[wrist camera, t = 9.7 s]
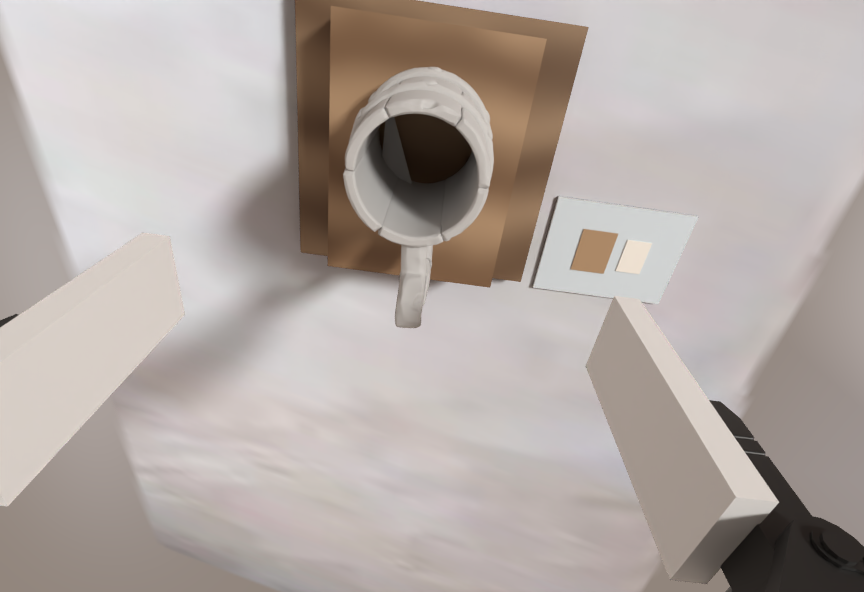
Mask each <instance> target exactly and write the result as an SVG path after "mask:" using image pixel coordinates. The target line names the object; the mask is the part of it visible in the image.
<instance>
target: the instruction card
mask: <svg viewBox="0 0 864 592" xmlns="http://www.w3.org/2000/svg"><path fill="white" fill-rule="evenodd" d="M697 219H698V216H695V215H688V214H681V213H674V212H667V211H660V210H653V209H646V208H639V207H632V206H625V205H618V204H610V203H603V202H596V201H589V200H582V199H575V198H568V197H561V196H558V198H557V202H556V205H555V209H554V212H553V216H552V219H551V223H550V226H549V230H548V233H547V237H546V241H545V244H544V248H543V251H542V255H541V258H540V262H539V265H538V269H537V272H536V276H535V279H534V283H533V288H540V289H548V290H555V291H563V292H570V293H578V294H585V295H593V296H600V297H608V298H614V296H620V297H628V298H635V299H640V301H641V302H645V303H653V304H659V302H660V299H661V297H662V295H663V293H664V291H665V289H666V286H667V284H668V282H669V280H670V278H671V276H672V273H673V271H674V269H675V267H676V265H677V263H678V260H679V258H680V256H681V254H682V252H683V250H684V248H685V245H686V243H687V241H688V239H689V237H690V235H691V232H692V230H693V228H694V226H695V224H696V222H697Z"/></svg>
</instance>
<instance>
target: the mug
mask: <svg viewBox="0 0 864 592" xmlns="http://www.w3.org/2000/svg"><path fill="white" fill-rule="evenodd" d="M404 114H425V115H430V116H434V117H437V118H439V119H441V120H444V121H445V122H447V123H449V124H451V125H452V126H455V127H456V129H457V130H458V131H459V132H460V133H461V134H462V135H463V137H464V138H465V139H466V140H467V142H468V143H469V145H470V147H471V149H472V152H471V155H470V157H469V159H468V161H467V162H466V164H465V165H464V166H463V167H462V168H461V169H460V170H459V171H458V172H457V173H456V174H454V175H453V176H451V177H449V178H447V179H446V181H445V180H443V181H439V182H436V183H418V182H414V181H412V180H411V178H410V175H409V171H408V167H407V163H406V159H405V156H404V152H403V148H402V144H401V141H400V137H399V133H398V129H397V126H396V122H395V118H394V117H395V116H399V115H404ZM383 122H385V131H384V142H383V151H382V148H381V145H380V138H379V130H378V129H379V127H380V124H382V123H383ZM492 139H493V134H492V130H491V126H490V115H489V113H488V111H487V110H486V109H485V106H484V104H483V102H482V100H481V99H480V97H479V96H478V94H477V93H476V92H475V90H474V89H473V88H472V87H471V86H470V85H469V84H468V83H467V82H465V81H464V80H463V79H461V78H460V77H458V76H457V75H455V74H453V73H450V72H448V71H445V70H442V69H440V68H438V67H420V68H413V69H409V70H406V71H403V72H400V73H398V74H396V75H394V76H392V77H391V78H389V79H388V80H387V81H386V82H384V83H383V84H382V85H381V86H380V87H379V88H378V89H377V91H375V92H374V93H373V94H372V95H371V96H370V98H369V100H368V104H367V105H366V106H365V107H364V108H361V109H360V111H359V113H358V114H357V116H356V118H355V122H354V125H353V129H352V132H351V135H350V139H349V144H348V146H347V149H346V153H345V167H346V169H345V171H344V173H343V178H344V185H345V189H346V193H347V196H348V199H349V201H350V203H351V205H352V207H353V209H354V210H355V212H356V213H357V215H358V216H359V218H360V219H361V220H362V221H363V223H364V224H365V225H366V226H367V227H369V228H370V229H371V230H372V231H374V232H375V231H377V230H378V229H379V230H378V234H379V235H380V236H381V237H383V238H385V239H387V240H389V241H391V242H394V243H397V244H400V245H401V272H400V276H399V289H398V296H397V303H396V310H395V324H396V326H397V327H402V328H417V327H419V326H420V325H421V313H422V307H423V305H424V303H425V300H426V296H427V291H428V288H429V282H430V273H431V267H432V251H433V245H437V244H439V243H441V242H443V241H449V240H450V239H451V238H452V237H454V236H457V235H458V234H460V233H461V232H463V231H464V230H465V229H466V228H467V227H468V226H470V225H471V224H472V223H473V222H474V220H475V219H476V218H477V216H478V215H479V213H480V212H481V210H482V208H483V206H484V204H485V201H486V199H487V196H488V191H489V189H488V188H489V186H490V180H491V176H492V172H493V164H494V153H493V142H492Z"/></svg>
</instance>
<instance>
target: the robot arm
mask: <svg viewBox="0 0 864 592" xmlns="http://www.w3.org/2000/svg"><path fill="white" fill-rule="evenodd" d="M184 315H185V313H184V308H183V302H182V297H181V292H180V287H179V282H178V277H177V272H176V266H175V261H174V256H173V251H172V246H171V241H170V236H164V235H157V234H149V233H141V234H140V235H138V236H137V237H135V238H134V239H132V240H131V241H129V242H128V243H126V244H125V245H123V246H122V247H120V248H119V249H117V250H116V251H114V252H113V253H111V254H110V255H108V256H107V257H105V258H104V259H102V260H101V261H99V262H98V263H96V264H95V265H93V266H92V267H90V268H89V269H87V270H86V271H84V272H83V273H81V274H80V275H78V276H77V277H75V278H74V279H72V280H71V281H69V282H68V283H66V284H65V285H63V286H62V287H60V288H59V289H57V290H56V291H55V292H53V293H51V294H50V295H48V296H47V297H45V298H44V299H42V300H41V301H40V302H38V303H36V304H35V305H33V306H32V307H30V308H29V309H28V310H26V311H25V312H23V313H21V314H20V315H17V314H15V315H13V316H11V317H8V318H5V319H3V320H0V506H9V504H10V503H11V502H12V501H13V500H14V499H15V498H16V497H17V496H18V495H19V494H20V493H21V491H22V490H23V489H24V488H25V487H26V486H27V485H28V484H29V483H30V482H31V481H32V479H33V478H34V477H35V476H36V475H37V474H38V473H39V472H40V471H41V470H42V469H43V468H44V467H45V466H46V464H47V463H48V462H49V461H50V460H51V459H52V458H53V457H54V456H55V455H56V454H57V453H58V452H59V450H60V449H61V448H62V447H63V446H64V445H65V444H66V443H67V442H68V441H69V440H70V438H71V437H72V436H73V435H74V434H75V433H76V432H77V431H78V430H79V429H80V428H81V426H83V425H84V423H85V422H86V421H87V420H88V419H89V418H90V417H91V416H92V415H93V414H94V413H95V412H96V410H97V409H98V408H99V407H100V406H101V405H102V404H103V403H104V402H105V401H106V400H107V399H108V398H109V396H110V395H111V394H112V393H113V392H114V391H115V390H116V389H117V388H118V387H119V386H120V385H121V383H122V382H123V381H124V380H125V379H126V378H127V377H128V376H129V375H130V374H131V373H132V372H133V370H134V369H135V368H136V367H137V366H138V365H139V364H140V363H141V362H142V361H143V360H144V359H145V358H146V356H147V355H148V354H149V353H150V352H151V351H152V350H153V349H154V348H155V347H156V346H157V345H158V343H159V342H160V341H161V340H162V339H163V338H164V337H165V336H166V335H167V334H168V333H169V332H170V331H171V329H172V328H173V327H174V326H175V325H176V324H177V323H178V322H179V321H180V320H181V319H182V318H183V316H184ZM586 368H587V371H588V373H589V376H590V378H591V381H592V383H593V386H594V388H595V391H596V393H597V396H598V399H599V401H600V404H601V406H602V409H603V411H604V414H605V416H606V419H607V421H608V424H609V426H610V429H611V432H612V434H613V437H614V439H615V442H616V444H617V447H618V449H619V452H620V454H621V457H622V459H623V462H624V464H625V467H626V470H627V472H628V475H629V477H630V480H631V482H632V485H633V487H634V490H635V492H636V495H637V497H638V500H639V502H640V505H641V508H642V510H643V513H644V515H645V518H646V520H647V523H648V525H649V528H650V530H651V533H652V535H653V538H654V540H655V543H656V546H657V548H658V551H659V553H660V556H661V558H662V561H663V563H664V566H665V568H666V571H667V573H668V576H669V578H670V580H675V581H685V582H693V583H702V584H707V583H708V582H709V581H710V580H711V579H712V577H713V576H714V575H715V574H716V573H717V572H718V571H719V569H720V568H721V569H722V571H723V573H724V575H725V577H726V579H727V581H728V583H729V585H730V587H729V588H728V590H727V591H726V592H864V547H863V546H862V545H861V544H860V543H859V542H858V541H857V540H856V539H855V538H854V537H853V536H851V535H850V534H848V533H847V532H845V531H844V530H842V529H841V528H840V527H838V526H836V525H834V524H832V523H830V522H828V521H826V520H824V519H821V518H818V517H813V516H812V515H811V514H810V513H809V511H808V510H807V509H806V507H805V506H804V504H803V503H802V502H801V501H800V499H799V498H798V496H797V495H796V494H795V492H794V491H793V490H792V488H791V487H790V486H789V484H788V483H787V481H786V480H785V479H784V477H783V476H782V475H781V473H780V472H779V470H778V469H777V468H776V466H775V465H774V464H773V462H772V461H771V460H770V458H769V457H767V456H765V451H764V450H763V449H762V448H761V446H760V445H759V443H758V442H757V441H754V437H753V435H752V434H751V432H750V431H749V430H748V428H747V427H746V426H745V424H744V423H743V422H742V420H741V419H740V418H739V417H738V416H737V415H735V414H734V413H733V412H732V411H731V410H730V409H728V408H727V407H726V406H725V405H724V404H723V403H721V402H719V401H711V400H708V398H707V397H706V395H705V394H704V392H703V391H702V389H701V388H700V387H699V385H698V384H697V382H696V381H695V379H694V378H693V376H692V375H691V373H690V372H689V371H688V369H687V368H686V366H685V365H684V363H683V362H682V360H681V359H680V357H679V356H678V355H677V353H676V352H675V350H674V349H673V347H672V346H671V344H670V343H669V341H668V340H667V339H666V337H665V336H664V334H663V333H662V331H661V330H660V328H659V327H658V326H657V324H656V323H655V321H654V320H653V318H652V317H651V315H650V314H649V312H648V311H647V310H646V308H645V307H644V305H643V304H642V302H641V301H640V299H635V298H628V297H620V296H614V298H613V300H612V303H611V305H610V308H609V310H608V312H607V315H606V317H605V320H604V322H603V325H602V327H601V330H600V332H599V335H598V337H597V340H596V342H595V344H594V347H593V349H592V352H591V354H590V357H589V359H588V362H587V364H586Z"/></svg>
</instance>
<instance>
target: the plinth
mask: <svg viewBox="0 0 864 592" xmlns="http://www.w3.org/2000/svg"><path fill="white" fill-rule="evenodd" d="M295 22H296V67H297V111H298V156H299V200H300V245H301V252H302V253H309V254H317V255H324V256H328V266H333V267H340V268H348V269H355V270H363V271H370V272H378V273H385V274H393V275H400V272H401V245H400V244H397V243H394V242H391V241H389V240H387V239H385V238H383V237H381V236H380V235H379V234H378V230H379V229H378V230H377V231H375V232H374V231H372V230H371V229H370V228H369V227H367V226H366V225H365V224H364V223H363V221H362V220H361V219H360V218H359V216H358V215H357V213H356V212H355V210H354V209H353V207H352V205H351V203H350V201H349V199H348V196H347V193H346V189H345V185H344V178H343V173H344V171H345V169H346V167H345V153H346V149H347V146H348V144H349V139H350V135H351V132H352V129H353V125H354V122H355V118H356V116H357V114H358V113H359V111H360V109H361V108H364V107H365V106H366V105H367V104H368V100H369V98H370V96H371V95H372V94H373V93H374V92H375V91H377V89H378V88H379V87H380V86H381V85H382V84H383V83H384V82H386V81H387V80H388V79H389V78H391V77H392V76H394V75H396V74H398V73H400V72H403V71H406V70H409V69H413V68H420V67H438V68H440V69H442V70H445V71H448V72H450V73H453V74H455V75H457V76H458V77H460V78H461V79H463V80H464V81H465V82H467V83H468V84H469V85H470V86H471V87H472V88H473V89H474V90H475V92H476V93H477V94H478V96H479V97H480V99H481V100H482V102H483V104H484V106H485V109H486V110H487V111H488V113H489V115H490V126H491V130H492V134H493V139H492V142H493V153H494V164H493V172H492V176H491V180H490V186H489V188H488V189H489V191H488V196H487V199H486V201H485V204H484V206H483V208H482V210H481V212H480V213H479V215H478V216H477V218H476V219H475V220H474V222H473V223H472V224H471V225H470V226H468V227H467V228H466V229H465V230H464V231H463V232H461V233H460V234H458V235H457V236H454V237H452V238H451V239H450V240H449V241H443V242H441V243H439V244H437V245H433V251H432V267H431V273H430V280H438V281H445V282H453V283H460V284H468V285H475V286H483V287H490V286H491V281H492V278H496V279H503V280H511V281H518V282H521V278H522V274H523V271H524V267H525V263H526V259H527V256H528V252H529V248H530V244H531V241H532V237H533V233H534V229H535V226H536V222H537V218H538V215H539V211H540V207H541V203H542V200H543V196H544V192H545V188H546V185H547V181H548V177H549V173H550V170H551V166H552V162H553V158H554V155H555V151H556V147H557V143H558V140H559V136H560V132H561V128H562V125H563V121H564V117H565V113H566V110H567V106H568V102H569V98H570V95H571V91H572V87H573V83H574V80H575V76H576V72H577V68H578V65H579V61H580V57H581V53H582V50H583V46H584V42H585V38H586V35H587V31H588V27H584V26H578V25H571V24H565V23H559V22H552V21H546V20H539V19H533V18H526V17H520V16H513V15H507V14H501V13H494V12H488V11H481V10H475V9H468V8H462V7H455V6H449V5H443V4H436V3H430V2H423V1H417V0H295ZM394 118H395V122H396V126H397V129H398V133H399V137H400V141H401V144H402V148H403V152H404V156H405V159H406V163H407V167H408V171H409V175H410V178H411V180H412V181H414V182H418V183H436V182H439V181H443V180H445V181H446V179H447V178H449V177H451V176H453V175H454V174H456V173H457V172H458V171H459V170H460V169H461V168H462V167H463V166H464V165H465V164H466V162H467V161H468V159H469V157H470V155H471V152H472V149H471V147H470V145H469V143H468V142H467V140H466V139H465V138H464V137H463V135H462V134H461V133H460V132H459V131H458V130H457V129H456V127H455V126H452V125H451V124H449V123H447V122H445V121H444V120H441V119H439V118H437V117H434V116H430V115H425V114H404V115H399V116H395V117H394ZM378 130H379V138H380V145H381V148H382V151H383V142H384V131H385V122H383V123H382V124H380V127H379V129H378Z"/></svg>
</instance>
